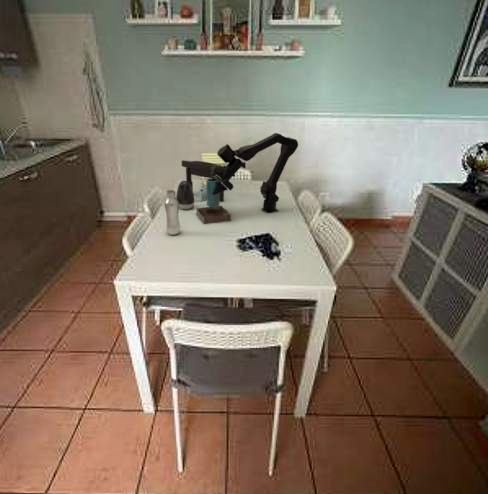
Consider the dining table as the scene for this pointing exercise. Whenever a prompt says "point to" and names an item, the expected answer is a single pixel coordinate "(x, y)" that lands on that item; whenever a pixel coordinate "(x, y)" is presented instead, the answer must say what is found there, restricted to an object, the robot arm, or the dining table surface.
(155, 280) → the dining table surface
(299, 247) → the dining table surface
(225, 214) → the holder
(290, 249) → the dining table surface
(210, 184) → the tumbler
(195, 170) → the stool
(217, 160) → the pale yellow striped pieces
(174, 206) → the plastic bottle
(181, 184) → the black rounded dome
